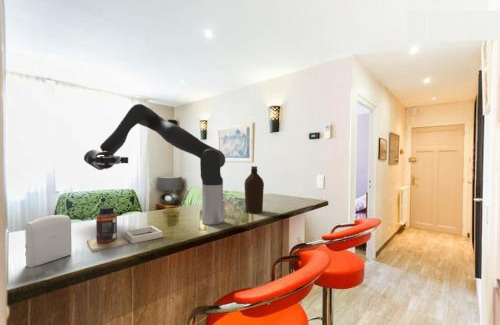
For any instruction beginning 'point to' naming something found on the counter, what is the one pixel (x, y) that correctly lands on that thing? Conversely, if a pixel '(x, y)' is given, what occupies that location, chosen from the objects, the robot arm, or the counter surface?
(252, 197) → the olive oil
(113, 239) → the supplement bottle
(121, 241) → the pad
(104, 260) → the counter surface
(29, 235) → the photo printer
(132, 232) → the white square tray
